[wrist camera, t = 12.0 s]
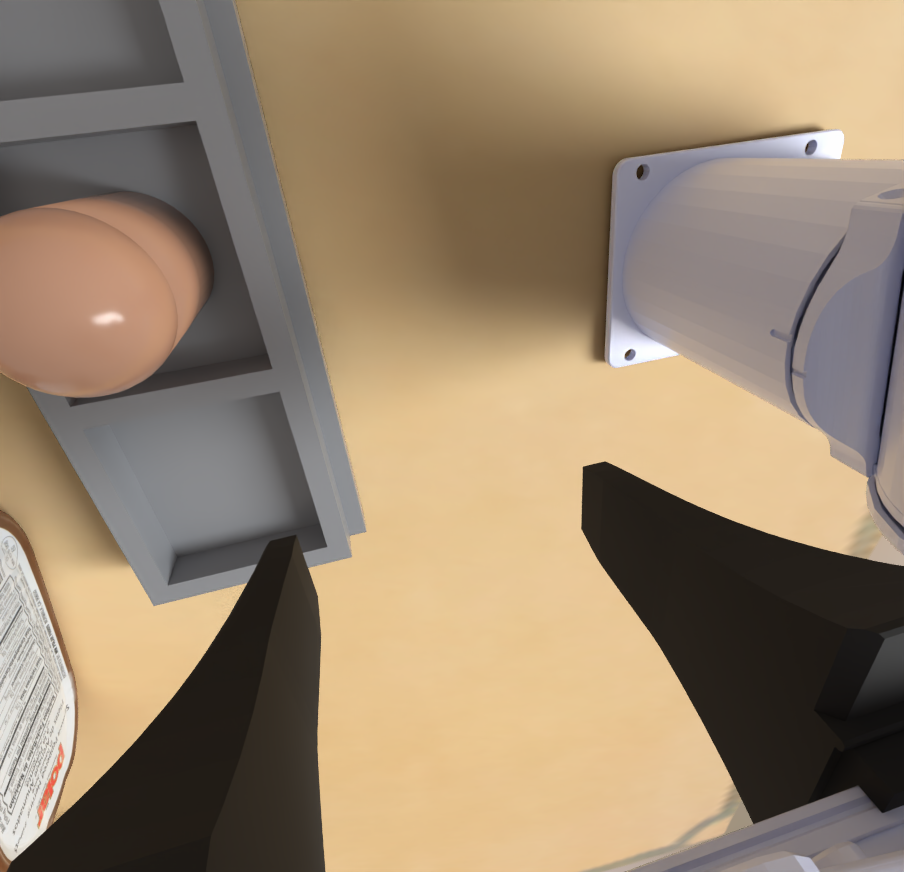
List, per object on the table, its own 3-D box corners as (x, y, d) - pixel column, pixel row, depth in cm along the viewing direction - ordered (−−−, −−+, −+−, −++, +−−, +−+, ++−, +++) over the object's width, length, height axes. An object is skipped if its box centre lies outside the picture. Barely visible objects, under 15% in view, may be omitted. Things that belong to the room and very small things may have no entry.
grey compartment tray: (150, -340, 11) (107, -472, 9) (363, 515, 23) (369, 556, 21) (-343, -348, 10) (-550, -506, 7) (155, 564, 22) (136, 614, 20)
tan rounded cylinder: (187, 182, 15) (101, 203, 9) (231, 317, 17) (185, 408, 11) (37, 200, 14) (-164, 236, 8) (101, 338, 16) (-24, 446, 10)
